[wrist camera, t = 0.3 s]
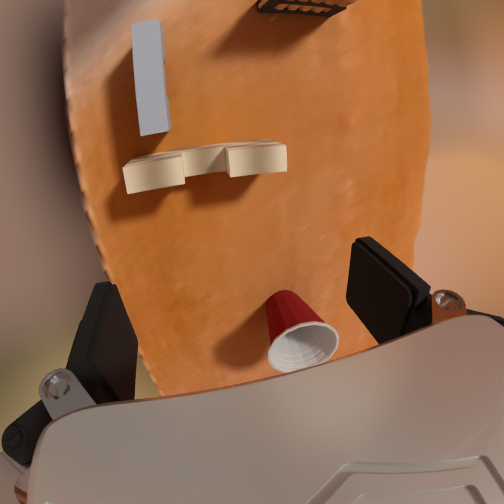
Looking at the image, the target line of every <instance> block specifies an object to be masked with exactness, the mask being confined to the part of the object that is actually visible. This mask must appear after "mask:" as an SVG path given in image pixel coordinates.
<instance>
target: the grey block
mask: <svg viewBox="0 0 504 504" xmlns="http://www.w3.org/2000/svg"><path fill="white" fill-rule="evenodd" d="M132 50H133V66H134V79H135V90H136V101H137V110H138V119H139V127H140V135H141V136H145V135H150V134H155V133H161V132H167V131H169V130H170V129H171V119H170V110H169V100H168V97H167V94H166V82H165V70H164V62H165V50H164V34H163V30H162V26H161V21H160V19H154V20H148V21H143V22H138V23H133V24H132Z"/></svg>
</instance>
